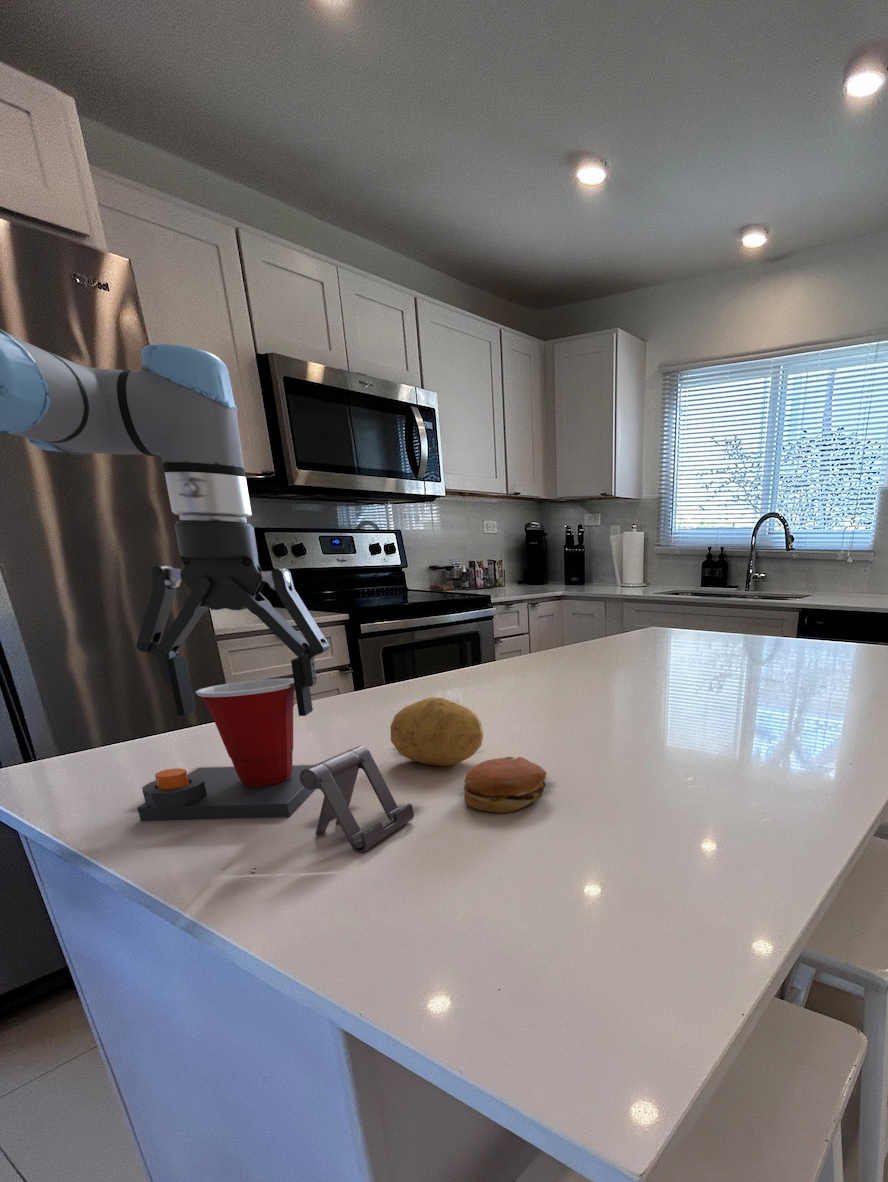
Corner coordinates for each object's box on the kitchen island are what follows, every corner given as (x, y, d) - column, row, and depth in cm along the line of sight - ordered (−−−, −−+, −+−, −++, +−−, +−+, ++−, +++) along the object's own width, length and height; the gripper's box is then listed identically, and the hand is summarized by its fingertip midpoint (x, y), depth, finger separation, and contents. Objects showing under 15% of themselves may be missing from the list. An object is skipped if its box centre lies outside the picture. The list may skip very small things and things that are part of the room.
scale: (138, 823, 72) (130, 793, 71) (201, 779, 86) (195, 754, 84) (288, 819, 74) (283, 790, 72) (327, 777, 87) (323, 751, 86)
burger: (464, 816, 74) (462, 777, 73) (465, 789, 83) (463, 753, 81) (551, 811, 76) (550, 773, 74) (543, 785, 85) (542, 750, 83)
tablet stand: (366, 855, 65) (355, 775, 62) (300, 845, 67) (286, 767, 64) (414, 822, 73) (407, 750, 70) (354, 814, 75) (344, 743, 72)
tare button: (153, 792, 73) (149, 777, 72) (167, 782, 75) (163, 768, 75) (181, 791, 73) (177, 776, 72) (194, 782, 76) (191, 767, 75)
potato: (414, 688, 96) (374, 694, 87) (496, 699, 92) (463, 707, 84) (414, 751, 99) (375, 764, 90) (494, 765, 95) (462, 779, 86)
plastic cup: (283, 759, 88) (267, 670, 84) (330, 775, 83) (316, 680, 78) (199, 781, 80) (176, 683, 76) (245, 800, 74) (223, 695, 70)
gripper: (66, 514, 66) (117, 720, 74) (322, 522, 68) (345, 721, 76) (112, 517, 73) (153, 705, 81) (342, 524, 75) (362, 706, 83)
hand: (247, 713), depth 78 cm, fingers open, 13 cm apart
